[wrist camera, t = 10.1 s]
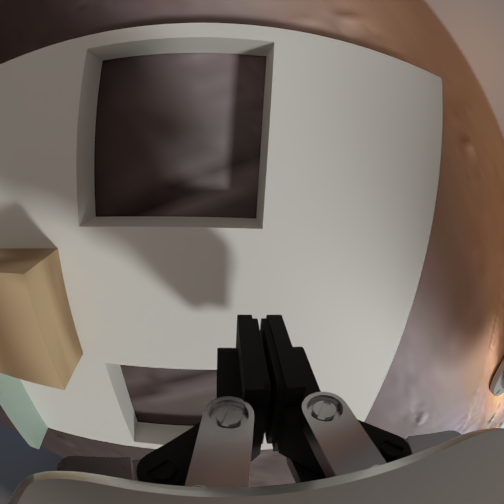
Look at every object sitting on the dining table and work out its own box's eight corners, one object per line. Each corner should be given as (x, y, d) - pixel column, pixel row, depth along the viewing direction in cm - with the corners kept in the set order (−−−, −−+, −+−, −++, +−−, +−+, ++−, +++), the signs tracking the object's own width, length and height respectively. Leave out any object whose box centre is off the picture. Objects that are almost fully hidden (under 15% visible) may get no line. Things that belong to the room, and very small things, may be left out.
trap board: (420, 82, 12) (474, 72, 8) (348, 417, 20) (367, 457, 16) (-14, 84, 9) (-60, 77, 4) (46, 408, 17) (29, 445, 13)
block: (58, 248, 11) (24, 273, 8) (83, 353, 13) (64, 390, 10) (-19, 248, 10) (-51, 268, 7) (8, 340, 12) (-14, 368, 9)
